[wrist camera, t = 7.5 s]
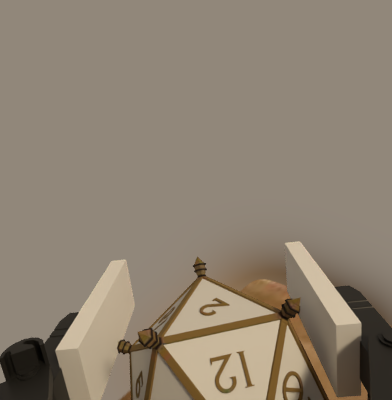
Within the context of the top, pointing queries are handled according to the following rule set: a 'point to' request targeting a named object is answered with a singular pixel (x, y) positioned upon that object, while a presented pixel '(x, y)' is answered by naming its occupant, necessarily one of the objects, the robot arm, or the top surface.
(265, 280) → the top surface
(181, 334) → the game die
